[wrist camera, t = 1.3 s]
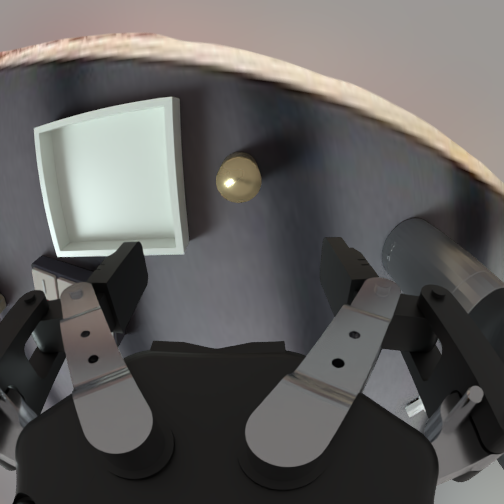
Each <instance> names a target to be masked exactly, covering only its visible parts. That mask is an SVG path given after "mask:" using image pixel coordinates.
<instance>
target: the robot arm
mask: <svg viewBox="0 0 504 504" xmlns="http://www.w3.org/2000/svg"><path fill="white" fill-rule="evenodd" d="M382 261H383V265H384V268H385V270H386V271H387V272H388V274H389V275H390V276H391V277H392V279H393V280H394V281H395V282H393V281H391V280H389V279H386V278H381V277H379V276H378V275H377V273H376V272H375V271H374V269H373V268H372V267H371V265H369V263H368V261H367V260H366V259H365V257H364V256H363V255H362V254H361V253H360V252H359V251H357V250H355V249H354V248H349V247H348V246H347V244H346V243H345V241H344V240H343V239H342V238H341V237H325V238H324V239H323V245H322V255H321V264H320V281H321V285H322V287H323V289H324V292H325V294H326V297H327V299H328V302H329V304H330V307H331V309H332V312H333V314H334V317H335V318H334V319H333V321H332V322H331V323H330V325H329V326H328V328H327V329H326V331H325V332H324V333H323V335H322V336H321V337H320V339H319V340H318V341H317V343H316V344H315V346H314V347H313V348H312V350H311V351H310V352H309V354H308V355H307V356H305V355H302V354H299V353H295V352H291V351H286V350H285V343H284V341H278V342H251V343H246V344H241V345H236V346H230V347H225V348H219V349H213V348H208V347H203V346H199V345H194V344H190V343H185V342H168V341H153V343H152V346H151V349H150V350H146V351H142V352H138V353H135V354H132V355H130V356H128V357H126V358H124V359H123V358H122V355H121V353H120V351H119V349H118V347H117V345H116V343H115V340H114V338H113V336H112V334H111V333H112V332H113V333H124V331H125V328H126V326H127V324H128V322H129V320H130V318H131V316H132V314H133V312H134V310H135V308H136V306H137V304H138V302H139V300H140V298H141V296H142V294H143V292H144V290H145V288H146V286H147V283H148V273H147V268H146V263H145V258H144V253H143V248H142V244H141V243H140V242H139V241H137V242H123V243H122V245H121V246H120V247H119V248H118V249H117V250H116V252H115V253H113V254H111V255H110V256H108V257H106V258H105V259H104V260H103V262H102V263H101V265H99V266H98V268H97V270H95V271H94V272H93V274H92V275H91V276H90V277H89V278H88V280H87V281H86V282H79V283H75V284H72V285H70V286H68V287H67V288H66V289H64V290H63V292H62V293H61V295H60V299H55V300H50V301H47V299H46V296H45V294H44V292H43V291H41V290H34V291H30V292H28V293H26V294H24V295H23V296H22V297H21V298H20V299H19V300H18V301H17V302H16V304H15V305H14V306H13V307H12V308H11V310H10V311H9V312H8V313H7V315H6V316H5V317H4V318H3V320H2V321H1V322H0V465H1V466H3V467H4V468H5V469H7V470H11V471H12V470H16V474H17V485H16V496H15V499H14V502H13V504H434V495H435V490H436V486H437V485H439V484H442V483H444V482H447V481H449V480H451V479H452V480H454V481H457V482H464V481H467V480H469V479H471V478H472V477H473V476H475V475H476V474H478V473H479V472H480V471H482V470H483V469H484V468H486V467H487V466H488V465H490V464H491V463H492V462H493V461H495V460H496V459H497V460H498V462H499V464H500V465H501V466H502V468H503V469H504V283H503V282H502V281H501V280H500V279H499V278H498V277H497V276H495V275H494V274H493V273H492V272H491V271H490V270H488V269H487V268H486V267H485V266H484V265H483V264H481V263H480V262H479V261H478V260H477V259H476V258H475V257H474V256H472V255H471V254H470V253H469V252H467V251H466V250H465V249H464V248H462V247H461V246H460V245H458V244H457V243H456V242H455V241H453V240H452V239H451V238H449V237H448V236H447V235H445V234H444V233H443V232H441V231H440V230H438V229H437V228H435V227H434V226H432V225H431V224H429V223H428V222H427V221H425V220H423V219H420V218H413V219H408V220H406V221H404V222H402V223H400V224H399V225H398V226H396V227H395V229H394V230H393V231H392V232H391V233H390V235H389V236H388V238H387V240H386V242H385V244H384V247H383V252H382ZM401 290H402V292H403V293H404V294H401ZM30 335H32V337H33V339H34V341H35V342H36V344H37V348H36V349H35V351H34V353H33V354H32V356H31V358H30V360H29V361H28V359H27V357H26V356H25V352H24V346H25V343H26V341H27V340H28V338H29V337H30ZM437 340H438V341H439V343H440V344H441V346H442V355H441V353H440V351H439V350H438V348H437V346H436V342H437ZM382 349H390V350H400V351H401V353H402V356H403V358H404V360H405V362H406V364H407V367H408V369H409V371H410V374H411V376H412V378H413V381H414V383H415V385H416V388H417V390H418V393H419V395H420V398H421V400H422V403H423V405H424V408H425V410H426V413H427V416H428V418H429V420H428V421H427V423H426V426H425V436H424V435H423V434H422V433H421V432H419V431H418V430H417V429H415V428H413V427H412V426H410V425H409V424H407V423H406V422H404V421H403V420H401V419H400V418H398V417H397V416H395V415H394V414H392V413H391V412H389V411H388V410H386V409H385V408H383V407H382V406H380V405H379V404H377V403H376V402H374V401H373V400H371V399H370V398H368V397H367V396H366V395H364V394H363V391H364V388H365V386H366V384H367V382H368V380H369V378H370V376H371V373H372V371H373V369H374V367H375V364H376V362H377V360H378V358H379V355H380V353H381V350H382ZM65 358H66V359H67V364H68V368H69V372H70V376H71V380H72V384H73V388H74V390H73V391H72V394H70V395H69V396H67V397H66V398H64V399H63V400H61V401H60V402H58V403H57V404H55V405H54V406H52V407H51V408H49V409H48V410H46V411H45V412H43V413H42V414H41V411H42V409H43V406H44V404H45V401H46V399H47V397H48V394H49V392H50V390H51V388H52V385H53V383H54V381H55V379H56V377H57V374H58V372H59V370H60V368H61V366H62V364H63V362H64V360H65Z"/></svg>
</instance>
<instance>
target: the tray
mask: <svg viewBox="0 0 504 504" xmlns="http://www.w3.org/2000/svg"><path fill="white" fill-rule="evenodd" d="M34 136H35V147H36V156H37V165H38V172H39V178H40V185H41V190H42V196H43V201H44V206H45V211H46V215H47V220H48V224H49V228H50V232H51V236H52V240H53V243H54V247H55V251H56V254H57V257H82V256H110V255H111V254H113V253H115V252H116V250H117V249H118V248H119V247H120V246H121V245H122V243H123V242H137V241H139V242H140V243H141V244H142V248H143V253H144V255H176V254H185V251H186V249H187V246H188V244H189V231H188V222H187V211H186V200H185V188H184V174H183V159H182V142H181V120H180V99H178V98H175V97H164V98H157V99H150V100H144V101H138V102H132V103H127V104H122V105H117V106H112V107H107V108H103V109H98V110H94V111H90V112H86V113H82V114H79V115H75V116H71V117H68V118H64V119H61V120H58V121H55V122H51V123H48V124H45V125H42V126H39V127H37V128H34Z"/></svg>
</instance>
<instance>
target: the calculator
mask: <svg viewBox="0 0 504 504" xmlns="http://www.w3.org/2000/svg"><path fill="white" fill-rule="evenodd" d="M92 274H93V272H92V271H89V270H86V269H82V268H79V267H76V266H73V265H70V264H67V263H64V262H61V261H58V260H55V259H51V258H48V257H45V256H41V257H39V258H38V259H37V260H36V261H35V262H33V263H32V275H33V280H34V286H35V290H41V291H43V292H44V294H45V296H46V299H47V301H50V300H55V299H60V295H61V293H62V292H63V290H64V289H66V288H67V287H68V286H70V285H72V284H75V283H79V282H86V281H87V280H88V278H89V277H90V276H91V275H92ZM111 334H112V336H113V338H114V340H115V343H116V345H117V347H118V346H119V345H120V343H121V341H122V339H123V337H124V335H125V331H124V333H113V332H112V333H111Z"/></svg>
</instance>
